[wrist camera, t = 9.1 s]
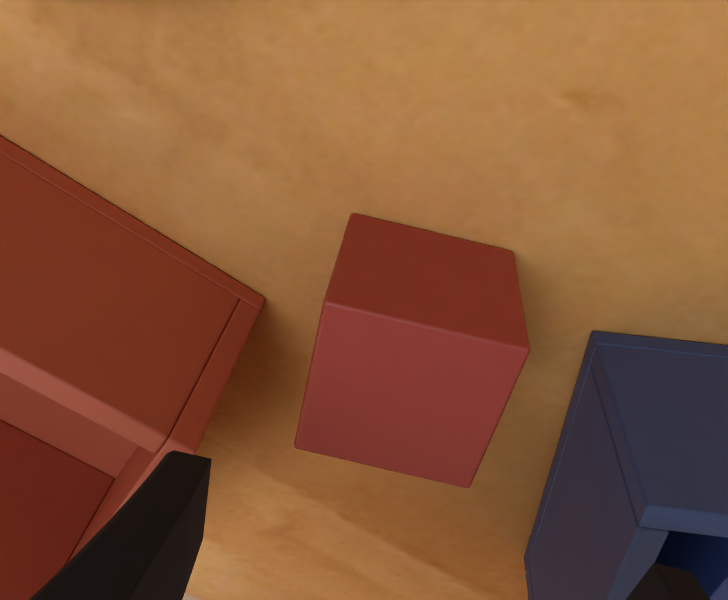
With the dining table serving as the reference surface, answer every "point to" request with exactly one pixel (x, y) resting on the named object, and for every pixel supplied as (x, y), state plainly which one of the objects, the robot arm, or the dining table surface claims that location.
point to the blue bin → (632, 466)
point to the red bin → (96, 362)
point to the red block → (413, 352)
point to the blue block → (699, 560)
